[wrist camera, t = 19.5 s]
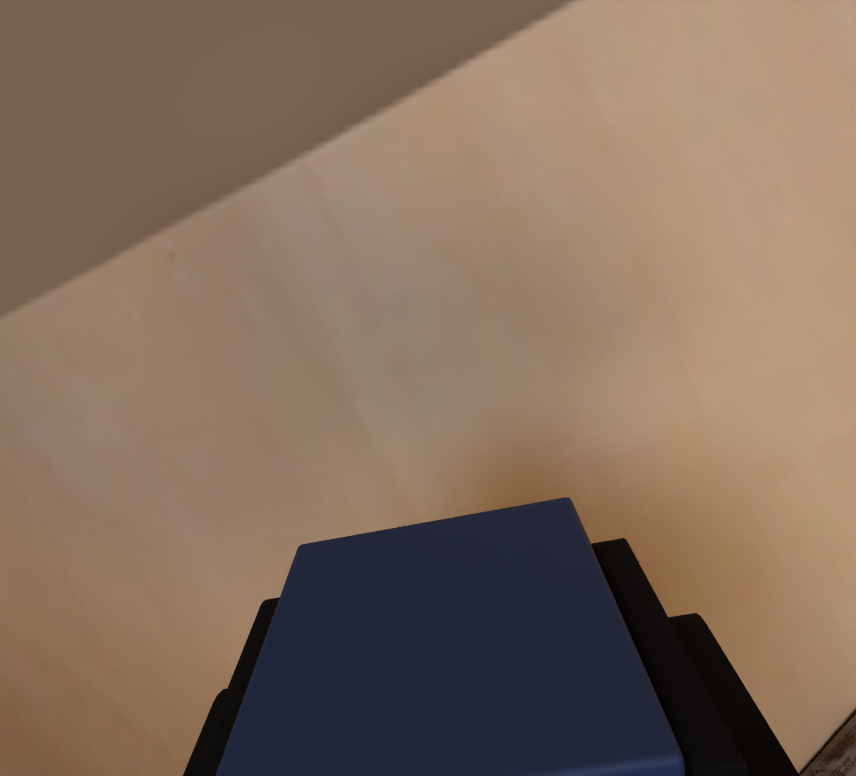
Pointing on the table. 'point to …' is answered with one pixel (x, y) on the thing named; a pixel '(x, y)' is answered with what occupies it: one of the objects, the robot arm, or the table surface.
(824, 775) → the coffee box
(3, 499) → the table surface
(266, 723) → the blue block
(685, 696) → the robot arm
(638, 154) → the table surface
